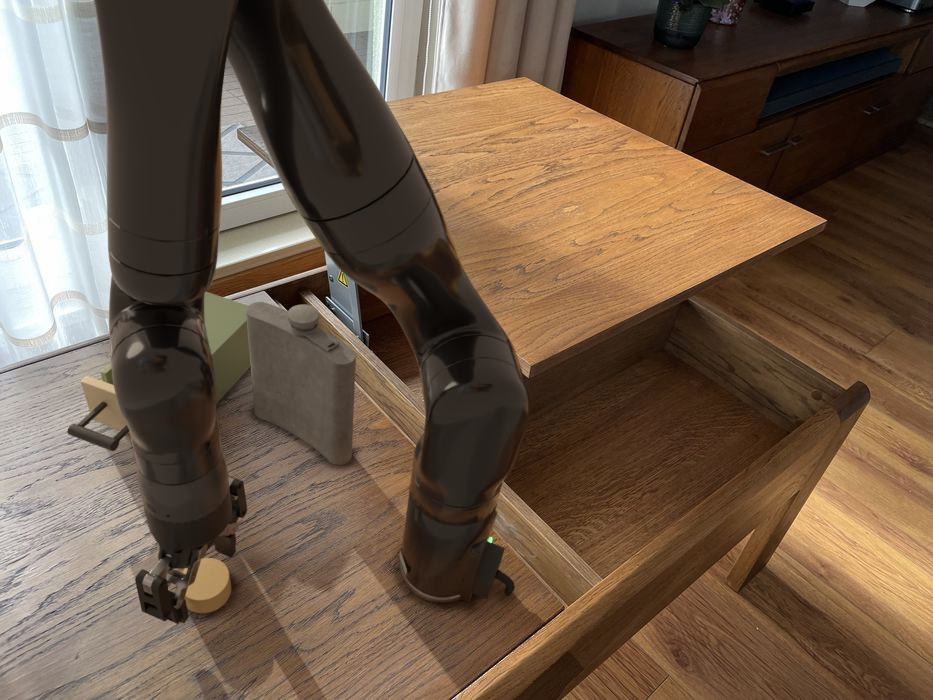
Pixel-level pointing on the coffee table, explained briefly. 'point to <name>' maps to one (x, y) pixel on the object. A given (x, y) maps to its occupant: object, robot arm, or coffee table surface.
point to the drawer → (100, 411)
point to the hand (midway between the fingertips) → (203, 583)
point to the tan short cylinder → (209, 587)
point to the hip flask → (302, 377)
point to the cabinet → (227, 340)
